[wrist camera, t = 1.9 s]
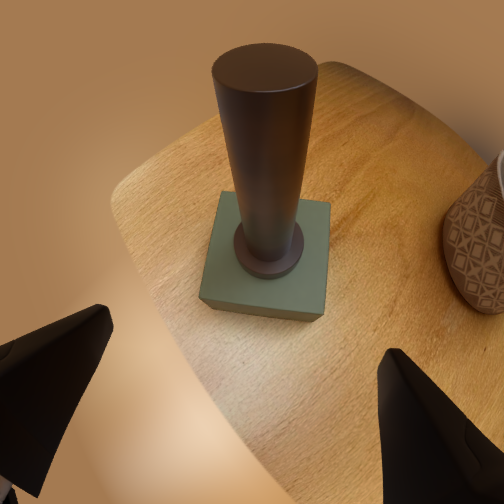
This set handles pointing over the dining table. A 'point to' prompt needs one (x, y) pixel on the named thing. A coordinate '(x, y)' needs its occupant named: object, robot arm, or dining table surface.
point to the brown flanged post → (266, 148)
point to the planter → (478, 240)
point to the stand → (268, 290)
